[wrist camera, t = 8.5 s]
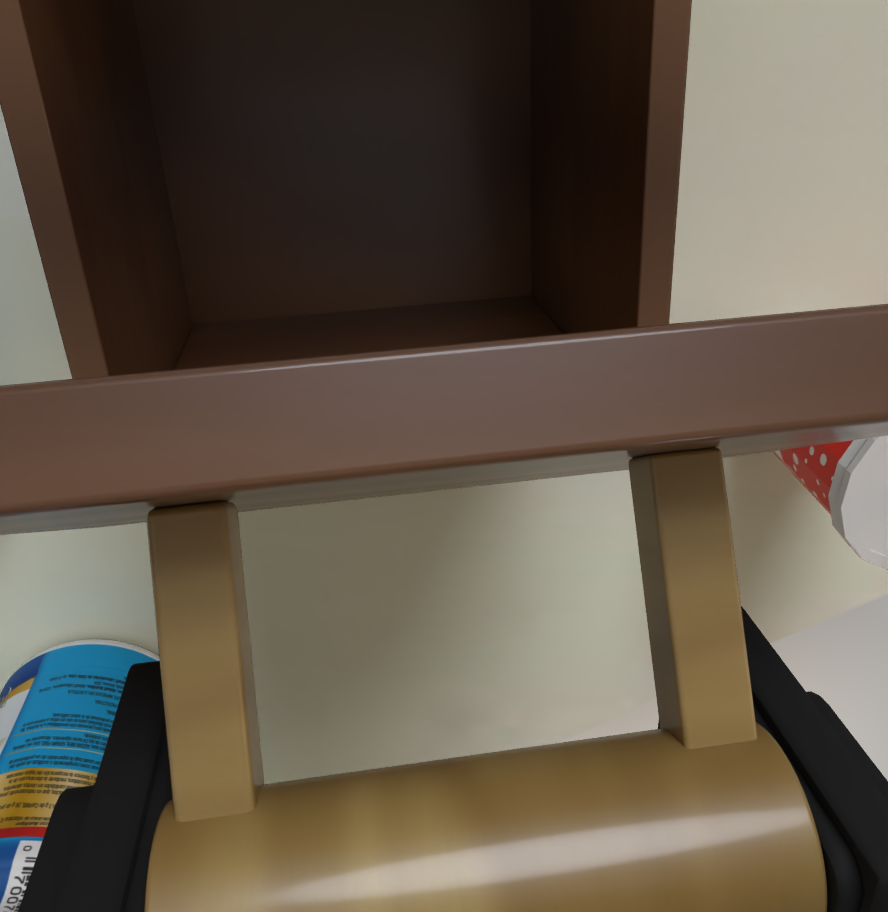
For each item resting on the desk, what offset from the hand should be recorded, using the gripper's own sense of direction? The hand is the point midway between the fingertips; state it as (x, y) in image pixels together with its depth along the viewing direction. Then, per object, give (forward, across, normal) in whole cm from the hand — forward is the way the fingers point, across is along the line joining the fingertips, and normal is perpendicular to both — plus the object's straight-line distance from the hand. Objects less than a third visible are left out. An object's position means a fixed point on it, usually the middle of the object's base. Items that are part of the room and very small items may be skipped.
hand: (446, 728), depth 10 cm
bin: (+22, 0, -5) cm, 23 cm away
